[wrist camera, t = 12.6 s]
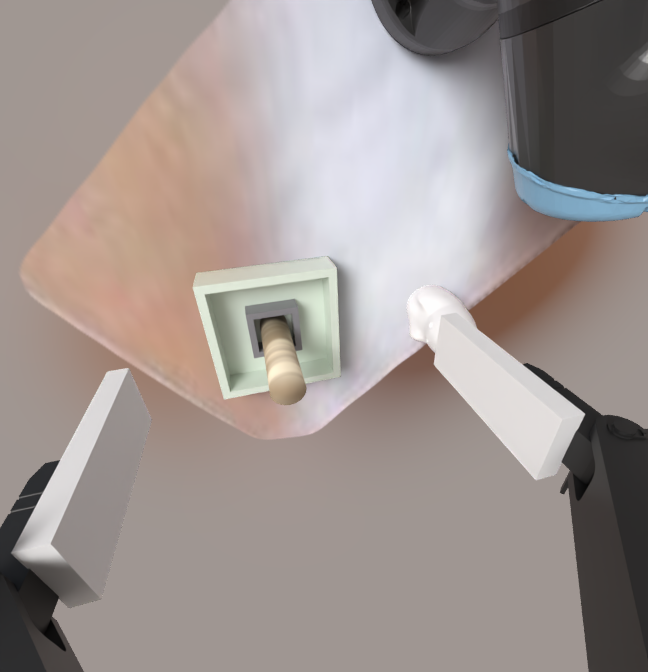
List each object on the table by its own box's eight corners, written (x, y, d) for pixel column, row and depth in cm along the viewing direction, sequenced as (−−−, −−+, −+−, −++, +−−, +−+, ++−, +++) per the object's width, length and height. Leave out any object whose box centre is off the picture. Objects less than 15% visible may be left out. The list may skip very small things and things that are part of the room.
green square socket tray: (196, 272, 40) (192, 287, 36) (327, 256, 42) (336, 267, 39) (224, 378, 48) (224, 399, 44) (332, 359, 51) (340, 377, 47)
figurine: (403, 281, 47) (450, 320, 37) (451, 280, 49) (508, 317, 39) (394, 326, 50) (434, 373, 40) (439, 323, 52) (489, 368, 42)
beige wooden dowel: (257, 314, 43) (267, 380, 32) (285, 309, 44) (304, 372, 32) (262, 337, 45) (272, 408, 33) (288, 333, 46) (307, 401, 34)
